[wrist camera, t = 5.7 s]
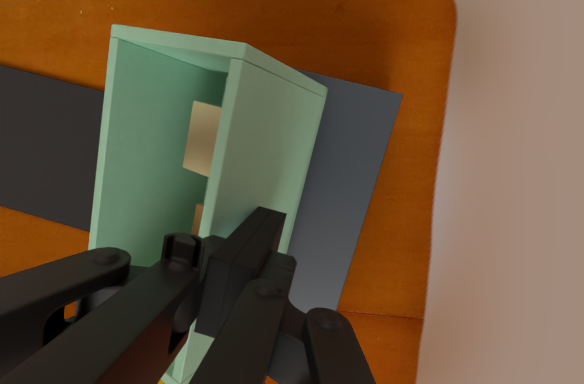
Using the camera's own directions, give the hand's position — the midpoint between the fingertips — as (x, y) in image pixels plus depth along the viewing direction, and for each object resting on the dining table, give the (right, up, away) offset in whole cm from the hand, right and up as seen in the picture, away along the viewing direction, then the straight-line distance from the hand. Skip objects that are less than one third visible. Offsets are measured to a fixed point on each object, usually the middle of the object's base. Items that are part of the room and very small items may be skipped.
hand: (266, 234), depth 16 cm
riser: (+2, +2, +13) cm, 13 cm away
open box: (-2, +2, +6) cm, 7 cm away
